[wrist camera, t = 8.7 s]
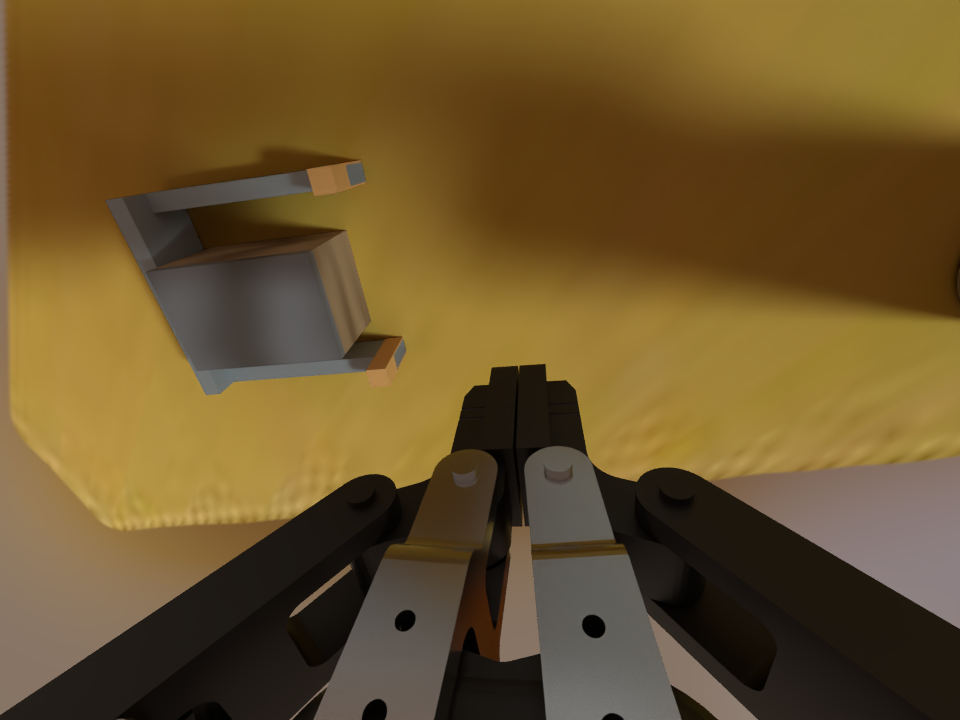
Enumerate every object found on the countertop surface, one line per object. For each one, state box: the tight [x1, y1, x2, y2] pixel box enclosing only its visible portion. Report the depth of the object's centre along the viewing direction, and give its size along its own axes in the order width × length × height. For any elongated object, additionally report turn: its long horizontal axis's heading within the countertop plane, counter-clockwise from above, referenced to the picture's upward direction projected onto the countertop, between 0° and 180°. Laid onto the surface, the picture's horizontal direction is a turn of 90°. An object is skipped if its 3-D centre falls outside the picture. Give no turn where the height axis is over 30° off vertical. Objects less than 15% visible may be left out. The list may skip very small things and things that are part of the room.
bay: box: [105, 160, 406, 395], centre depth 25 cm, size 12×12×4 cm
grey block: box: [146, 230, 371, 371], centre depth 25 cm, size 9×6×6 cm, turn 97°
